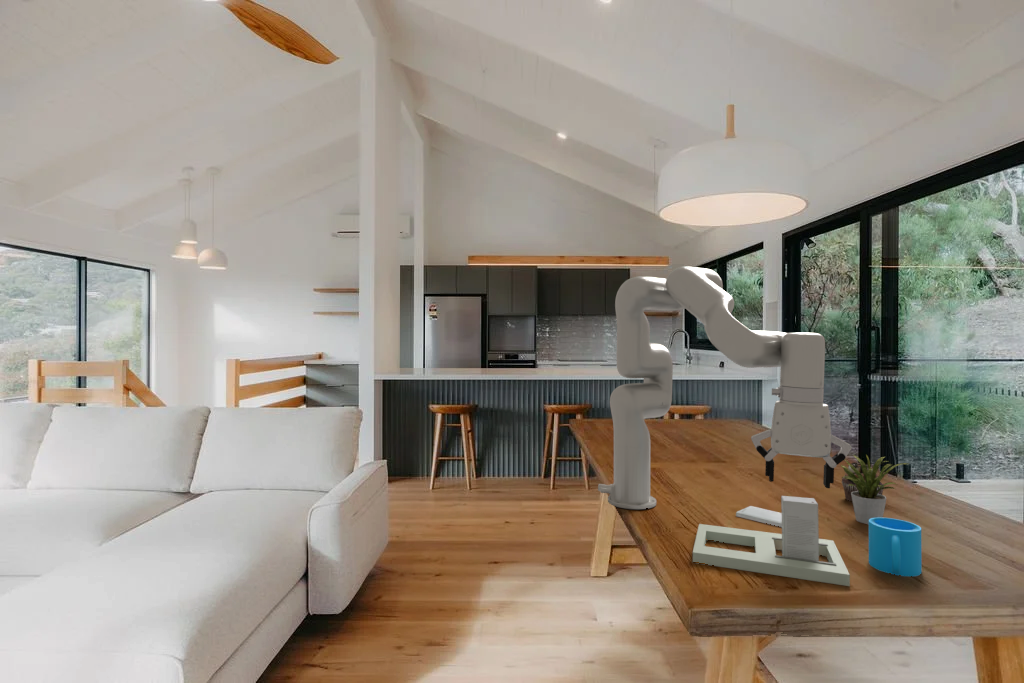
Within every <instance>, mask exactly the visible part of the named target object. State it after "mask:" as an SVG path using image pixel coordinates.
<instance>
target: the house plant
mask: <svg viewBox="0 0 1024 683" xmlns="http://www.w3.org/2000/svg"><path fill="white" fill-rule="evenodd" d="M852 456H853V457H854V458H855V459H856V461H857V462H859V463H858V464H860V465H859V466H861V468H862V471H863V474H864V478H865V481H866V482H865V481H864V478H863V476H862V475H861V473H860V472H859V471H858V470H857V469H856V468H855V467H854V466H853V465H852V464H851V463H850V462H849V461H848V460H847V459H845V460H844V461H845V462H846V464H847V465H848V466H849V465H850V467H851V468H852V469H853V470H854V472H855V473H856V474H857V476H858V477H859V478H857V477H856V476H855V475H854V474H853V473H852V472H851V471H850V470H849V469H848V467H846V466H845V465H843V464H840V467H841V468H842V469H843V471H844V474H845V473H846V474H847V475H848V476H845V475H844V476H845V477H848V478H846V479H849V480H851V481H853V482H854V483H855V484H856V486H855V487H857V489H858V491H855V492H852V493H851V495H852V501H853V502H852V505H853V512H854V517H855V520H856V522H859V523H861V524H866V525H869V519H871V518H878V517H881V518H884V513H885V507H886V504H887V503H886V502H887V497H886V495H884V494H882V495H881V494H877V493H878V492H879V491H880V490H882V489H883V490H887V489H889V490H890V489H892V490H893V489H894V490H897V489H896V488H895V487H892V486H887V485H892V484H893V485H897V483H895V482H893V481H891V482H890V481H889V482H886V483H882V484H883V485H879V483H880V482H881V481H882V480H883V478H884V477H885V476H886V475H887V474H888V473H889V472H890V471H892V470H893V469H895V468H896V467H898V466H900V465H909V463H907V462H905V463H904V462H903V463H897V464H894V465H893V464H891V463H887V464H885V465H884V466H882V468H881V470H880V472H879V475H878V477H877V478H875V477H876V474H877V472H878V470H879V468H880V466H881V465H882V464H883V463H886V462H888V460H884V461H883V459H885V458H886V456H880V457H879V458H877V460H876V461H875V463H873V466H872V467H871V462H870V459H869V456H868V455H867V454H865V456H866V459H867V463H866V462H864V460H862V459H861V458H860V457H859V456H857V455H855V454H854V455H853V454H852ZM866 464H868V469H867V467H866ZM872 469H873V470H872ZM845 477H844V478H845ZM842 478H843V476H841V480H842ZM875 479H876V480H875ZM850 485H851V486H854V485H853V484H850ZM848 486H849V485H848ZM878 486H879V489H878V490H877V488H878ZM880 486H881V487H880ZM882 487H883V488H882Z"/></svg>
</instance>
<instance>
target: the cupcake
mask: <svg viewBox="0 0 1024 683" xmlns="http://www.w3.org/2000/svg"><path fill="white" fill-rule="evenodd" d="M850 464H852V465H853V466H854V467H855V468H856V469H857V470H858V471H859V472H860V473H861V475H862V476H863V478H864V474H863V471H862V468H861V465H860V463H857V462H851V463H850ZM865 464H866V467H867V469H868V464H867V463H865ZM847 468H848V469H849V470H850V471H851V472H852V473H853V474H854V475H855V476H856V477H857V478H859V477H858V476H857V474H856V473H855V472H854V470H853V469H852V468H851V467H850V465H848V467H847ZM872 470H873V468H872ZM845 476H848V475H847V474H846V473H845V472H844V475H843V476H842V477H843V478H842V477H841V478H842V479H841V484H842V487H843V491H844V497H845V499H846V501H848V500H849V501H848V502H850V501H852V495H851V493H852V492H855V491H858V489H857V487H855V486H856V484H855V483H854V482H853V481H851V480H849V479H846V478H848V477H845ZM878 476H879V475H878V474H877V473H876V477H875V478H877V477H878ZM844 477H845V478H844ZM875 480H876V479H875ZM864 481H865V478H864ZM865 482H866V481H865ZM850 484H853V485H854V486H851V485H850ZM883 484H884V483H882V482H881V481H880V483H879V485H883ZM848 485H849V486H848ZM880 487H881V486H880ZM882 488H883V487H882ZM878 489H879V486H878V488H877V490H878ZM883 492H884V489H882V490H880V491H879V492H878V493H877V494H881V495H883ZM851 503H853V501H852V502H851Z"/></svg>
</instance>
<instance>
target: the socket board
mask: <svg viewBox="0 0 1024 683" xmlns="http://www.w3.org/2000/svg"><path fill="white" fill-rule="evenodd" d="M706 539H707V540H706ZM708 540H714V541H713V542H716V541H719V542H718V543H723V542H724V543H725V544H733V545H738V546H740V545H741V546H748V547H753V546H754V552H749V551H744V550H743V551H742V550H736V549H730V548H729V549H727V548H721V547H713V546H706V545H705V544H707V541H708ZM693 544H694V545H693V550H692V563H693V562H699V563H705V564H708V565H707V566H712V565H714V567H719V568H726V569H732V570H740V571H747V572H753V573H758V574H759V573H760V574H766V575H772V576H773V575H774V576H780V577H785V578H786V577H787V578H793V579H800V580H805V581H806V580H807V581H812V582H819V583H820V582H821V583H826V584H832V585H833V584H834V585H837V586H838V585H839V586H845V587H851V584H850V583H851V576H850V575H851V574H850V573H849V571H848V568H847V566H846V564H845V562H844V560H843V558H842V556H841V554H840V551H839V550H838V548H837V546H836V543H835V541H834V540H833V539H824V538H819V556H820V555H822V556H823V557H826V558H827V561H823V560H821V561H820V560H819V561H814V560H807V559H800V558H793V557H785V556H782V555H778V554H777V552H776V550H777V551H782V533H778V532H776V533H775V532H769V531H768V532H766V531H761V530H753V529H752V530H750V529H743V528H735V527H729V526H719V525H711V524H702V523H698V527H697V532H696V535H695V540H694V543H693ZM699 563H698V564H699ZM705 564H704V565H705Z"/></svg>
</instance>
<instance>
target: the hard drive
mask: <svg viewBox="0 0 1024 683" xmlns="http://www.w3.org/2000/svg"><path fill="white" fill-rule="evenodd" d="M735 517H738V518H742V519H746V520H750V521H754V522H759V523H762V524H766V523H767V524H766V525H770V524H771V525H770V526H774V525H775V526H774V527H778V526H779V528H782V512H778V511H774V510H770V509H766V508H761V507H758V506H753V505H749V506H746V507H745V508H742V509H740V510H737V511H736V512H735Z"/></svg>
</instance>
